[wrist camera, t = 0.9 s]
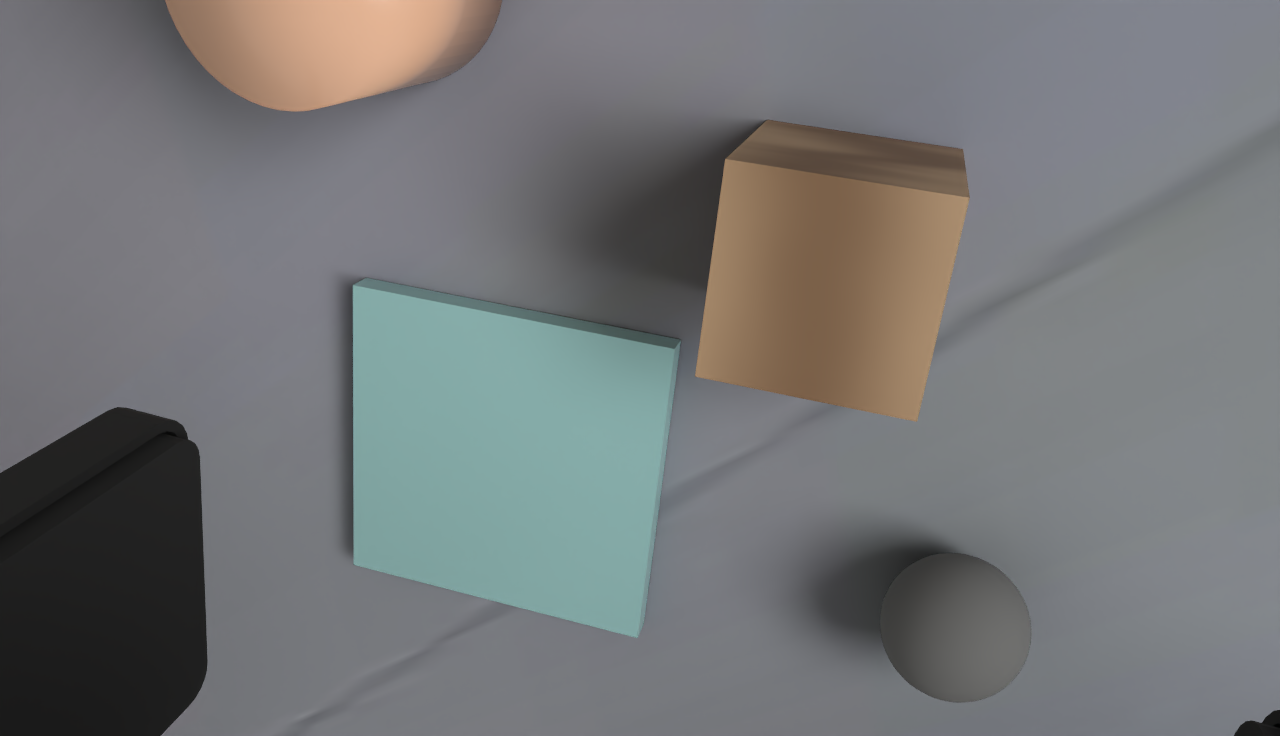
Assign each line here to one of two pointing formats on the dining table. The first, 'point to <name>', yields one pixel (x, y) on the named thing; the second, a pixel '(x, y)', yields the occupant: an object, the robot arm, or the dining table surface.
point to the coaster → (509, 452)
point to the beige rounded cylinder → (330, 45)
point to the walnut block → (832, 266)
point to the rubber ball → (955, 627)
